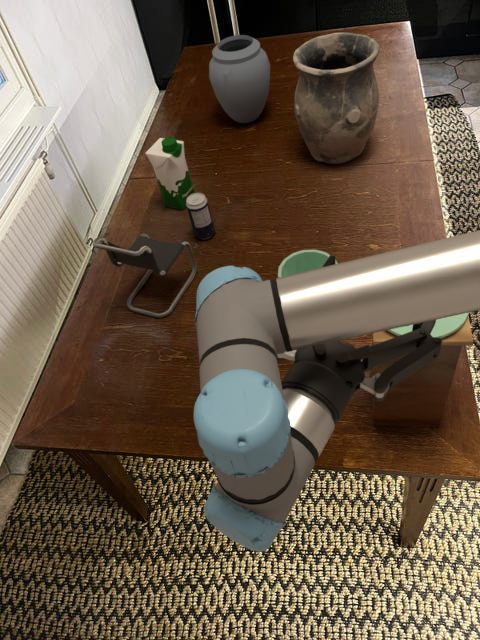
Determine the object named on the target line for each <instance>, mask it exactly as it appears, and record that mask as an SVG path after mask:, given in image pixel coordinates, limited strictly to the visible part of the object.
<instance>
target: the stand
mask: <svg viewBox="0 0 480 640" xmlns="http://www.w3.org/2000/svg"><path fill="white" fill-rule="evenodd" d="M395 337H397V335H395V334H393V333H391V332H389V331H388V330H385V331H381V332H376V333H372V341H371V346H373V345H376V344H378V343H381V342H384V341H387V340H389V339H392V338H395ZM440 339H441V340H442V344H441V348H440V353H439V356H438V357H437V358H436V359H434V360H433V361H431V362H430V363H428V364H427V365H425V366H424V367H422V368H421V369H419V370H418V371H416V372H415V373H413V374H412V375H410V376H409V377H408V378H406V379H405V380H403V381H402V382H400V383H399V384H397V385H396V386H394V387H393V388H391V390H390V391H389V393H388V394H387V396H386V397H385V398H384V400H383V401H376V400H375V399H374V397H373V395H374V394H372V393H370V394H371V396H370V397H371V416H372V426H392V427H393V426H394V427H395V426H396V427H426V428H428V427H429V428H440V426H441V422H442V418H443V415H444V411H445V408H446V404H447V401H448V397H449V394H450V390H451V388H452V387H451V386H452V383H453V379H454V376H455V373H456V370H457V366H458V362H459V358H460V355H461V352H462V348H463V346H473V344H474V339H473V333H472V328H471V323H470V318H469V316H468V317H467V319H466V321H465V322H464V324H463V325H462V326H461V327H460V328H459V329H458V330H456V331H455V332H454V333H452V334H450V335H448V336H445V337H443V338H440ZM406 355H408V354H406ZM406 355H404V356H401V357H398V358H396V359H393V360H390V361H387V362H385V363H382V364H379V365H377V366H375V367H374V368H373V369H372V370H370V371H369V373H370V378H371V377H373V376H374V375H375V374H377V373H379V374H380V375H381V374H382V372H383V371H384V370H385V369H387V368H388V367H389V366H391V365H392V364H394V363H395V362H397V361H398V360H400V359H402V358H403V357H405V356H406Z"/></svg>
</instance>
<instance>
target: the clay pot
mask: <svg viewBox="0 0 480 640" xmlns="http://www.w3.org/2000/svg"><path fill="white" fill-rule="evenodd" d="M379 53H380V46H379V43H378V41H376V40H375V39H374V38H373V37H371V36H368V35H366V34H361V33H360V34H359V33H354V32H343V31H342V32H341V31H340V32H333V33H329V34H323V35H319V36H316V37H314V38H311V39H309V40H308V41H305V42H304V43H303V44H302V45H300V46H299V47H298V48H296V49H295V51H294V52H293V56H292V60H293V63H294V66H295V67H296V69H297V70H298V72H299V76H298V81H297V83H296V87H295V92H294V115H295V120H296V124H297V127H298V130H299V132H300V135H301V137H302V139H303V141H304V143H305V145H306V147H307V149H308V150H309V152H310V155H311V156H312V157H313V159H314V160H315V161H317V162H320V163H325V164H327V165H342V164H344V163H345V164H346V163H348V162H350V161H352V160H354V159H355V158H357V157H358V156H360V155H361V154H362V153H363V151H364V149H365V147H366V145H367V142H368V140H369V139H370V137H371V135H372V133H373V130H374V128H375V124H376V120H377V117H378V112H379V111H378V110H379V103H380V91H379V84H378V81H377V77H376V74H375V70H374V69H375V68H374V63H375V61H376V60H377V58H378V57H379Z"/></svg>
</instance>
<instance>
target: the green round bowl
mask: <svg viewBox="0 0 480 640" xmlns="http://www.w3.org/2000/svg"><path fill="white" fill-rule="evenodd" d="M330 255H331V254H330V253H328V252H326V251H322V250H320V249H302V250H298V251H296V252H291V254H289V255H288V256H287V257H285V258H284V259H283V260H282V262H281V263H280V265H279V266H278V271H277V278H279V277H284V276H288V275H292V274H296V273H301V272H305V271H309V270H313V269H318V268H322V267H323V265H324V264H325V262H326V261H327V259H328V258H329V256H330ZM335 264H339V263H338V261H337V260H336V259H335Z"/></svg>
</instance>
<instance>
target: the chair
mask: <svg viewBox="0 0 480 640" xmlns="http://www.w3.org/2000/svg"><path fill="white" fill-rule="evenodd" d="M92 247H94V248H96V249H100V250H103V251H106V254H107V256H108V259H109V260H110V262H111V265H113V266H114V267H116V268H120V267H122V266H123V265H127V266H131V267H136V268H139V269H145V270H147V271H146V273H145V274H144V276H143V277H142V279H141V280H140V282H138V284H137V286H136V287H135V288H134V290H133V291H132V292H131V293H130V295H129V297H128V298H127V300H126V307H127V309H128V310H129V311H130V312H134V313H138V314H142V315H145V316H149V317H152V318H157V319H160V318H166V317H167V316H169V315H171V314H172V312H173V311H174V309H175V308H176V306H177V305H178V303H179V302H180V300H181V299H182V297H183V296H184V294H185V292H186V291H187V289H188V288H189V286H190V285H191V283H192V281H193V279H194V278H195V276H196V274H197V263H196V260H195V257H194V256H195V255H194V253H193V249H192V246H191V244H190V242H188V241H186V240H185V241H182V242H181V243H175V242H167V241H160V240H157V239H153V238H150V236H149V235H148V233H141V234H139V235H138V237H136V239H135V241H134V242H133V243H132V244H131V245H130V246H129V248H124V247H122V246H119V245H116V244H114V243H112V242H110V241H108V240H107V239H106V238H105V237H103V236H97V237H96V238H94V239H93V240H92ZM185 248H186V251H187V254H188V257H189V260H190V264H191V273H190V275H189V276H188V278H187V280H186V281H185V282H184V284H183V286H182V288H181V289H180V290H179V291H178V293H177V294H176V297H175V298H174V299H173V301H172V303H171V305H170V306H169V308H168V309H167V310H166V311H164V312H161V313H159V312H154V311H150V310H146V309H142V308H139V307H135V306H133V305H132V302H133V300H134V299H135V297H136V296H137V295H138V293H139V291H140V290H141V289H142V287H143V286H144V284H145V283H146V281H147V280H148V279H149V277H150V276H151V275H152V273H153V272H154V274H155V275H156V276H157V277H159V278H160V277H164V276H165V275H167V274H168V272H169V271H170V269H171V267H172V266H173V265H174V263H175V262H176V261H177V260H178V258H179V256H180V254H181V253H182V252H183V250H184V249H185Z"/></svg>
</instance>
